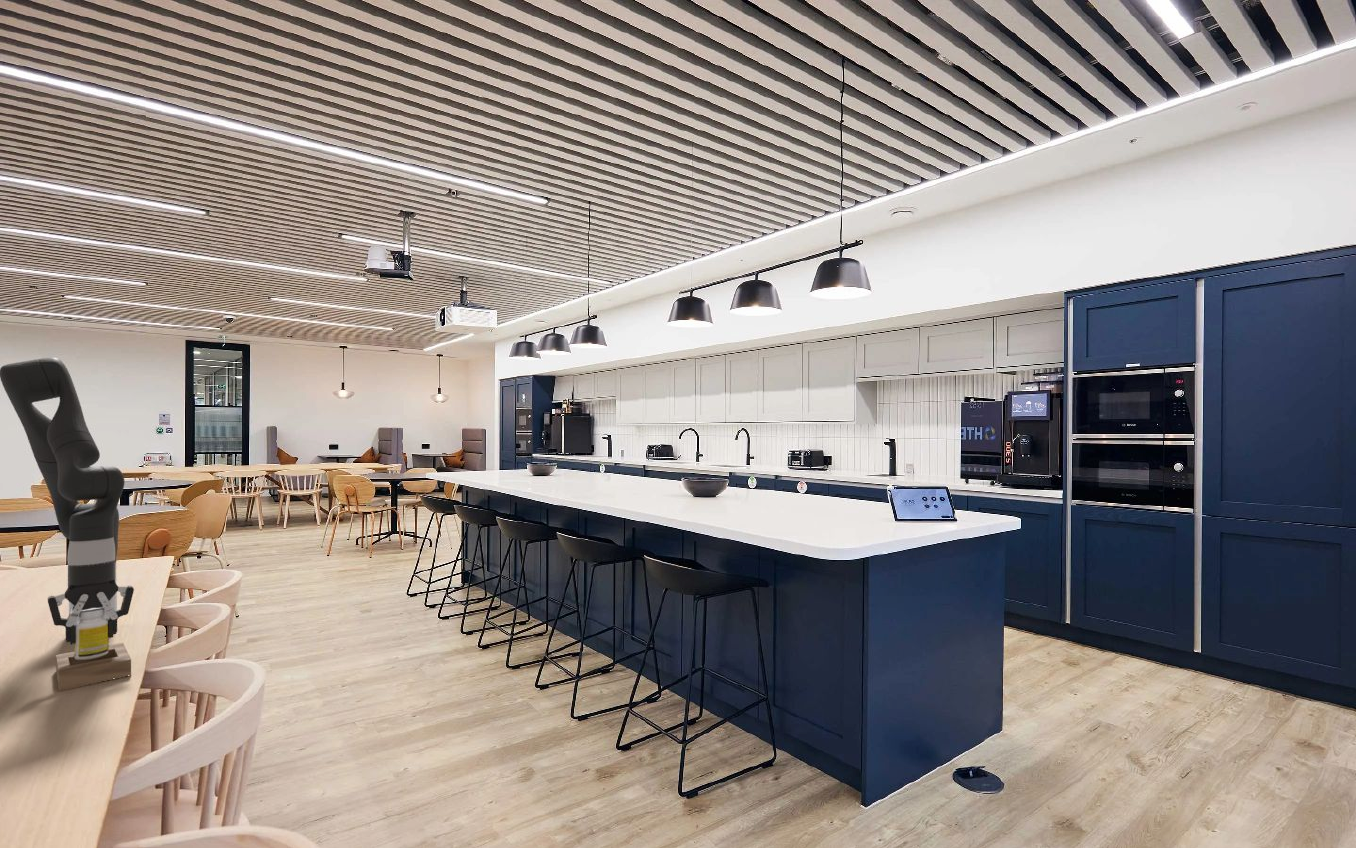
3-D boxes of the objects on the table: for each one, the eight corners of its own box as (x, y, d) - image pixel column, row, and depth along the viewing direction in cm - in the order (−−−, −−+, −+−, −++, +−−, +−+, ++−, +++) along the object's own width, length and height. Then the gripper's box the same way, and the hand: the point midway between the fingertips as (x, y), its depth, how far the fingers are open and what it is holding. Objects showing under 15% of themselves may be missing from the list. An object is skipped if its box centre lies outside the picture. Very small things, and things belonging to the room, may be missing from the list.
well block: (56, 671, 140) (56, 655, 140) (123, 658, 148) (123, 642, 148) (58, 691, 128) (58, 673, 128) (131, 676, 136) (131, 659, 136)
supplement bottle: (114, 653, 140) (114, 607, 140) (84, 662, 134) (84, 614, 135) (98, 651, 141) (98, 605, 142) (68, 659, 136) (68, 612, 136)
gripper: (45, 568, 131) (45, 652, 130) (137, 557, 141) (137, 636, 140) (44, 563, 136) (44, 644, 136) (133, 553, 146) (133, 629, 146)
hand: (92, 639), depth 138 cm, fingers closed on supplement bottle, 5 cm apart
